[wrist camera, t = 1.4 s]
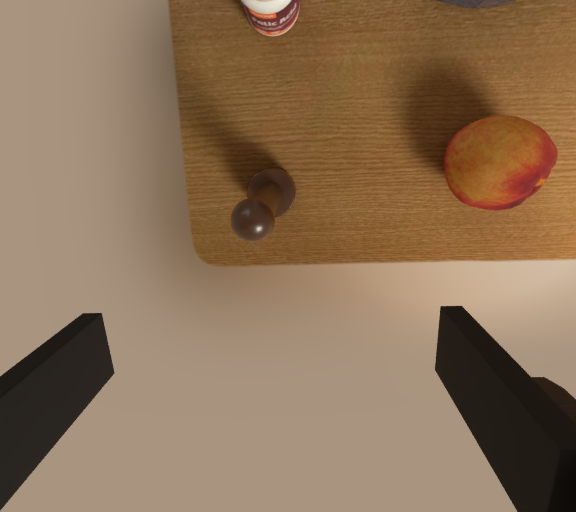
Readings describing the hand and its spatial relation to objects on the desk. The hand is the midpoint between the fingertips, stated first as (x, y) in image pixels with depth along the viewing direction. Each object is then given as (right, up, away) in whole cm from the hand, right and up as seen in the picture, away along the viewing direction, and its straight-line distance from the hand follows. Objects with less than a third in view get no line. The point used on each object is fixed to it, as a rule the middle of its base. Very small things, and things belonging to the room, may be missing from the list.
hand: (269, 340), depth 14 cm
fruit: (+19, +12, +20) cm, 30 cm away
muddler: (-1, +10, +22) cm, 24 cm away
